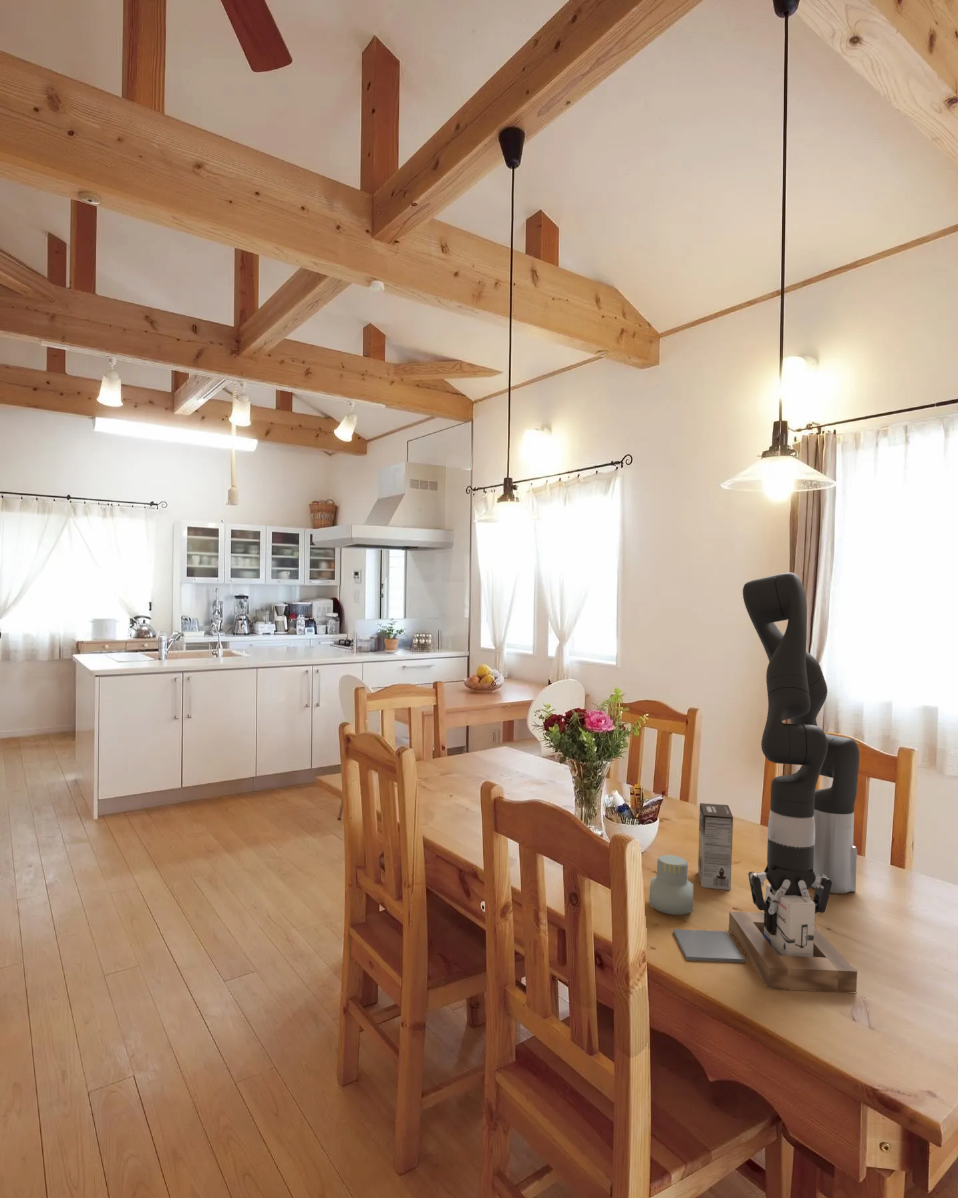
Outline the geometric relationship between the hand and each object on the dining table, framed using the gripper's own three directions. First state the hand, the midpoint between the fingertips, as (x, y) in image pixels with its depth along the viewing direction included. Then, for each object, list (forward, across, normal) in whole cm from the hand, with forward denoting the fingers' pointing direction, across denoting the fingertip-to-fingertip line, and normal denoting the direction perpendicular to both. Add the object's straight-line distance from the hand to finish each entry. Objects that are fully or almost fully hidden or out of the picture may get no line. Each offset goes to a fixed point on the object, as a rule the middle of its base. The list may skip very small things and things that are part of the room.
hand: (787, 933), depth 123 cm
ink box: (+5, 0, 0) cm, 5 cm away
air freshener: (+5, +16, -18) cm, 24 cm away
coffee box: (+5, +3, -33) cm, 33 cm away
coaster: (+5, +13, -3) cm, 14 cm away
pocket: (+5, 0, 0) cm, 5 cm away
